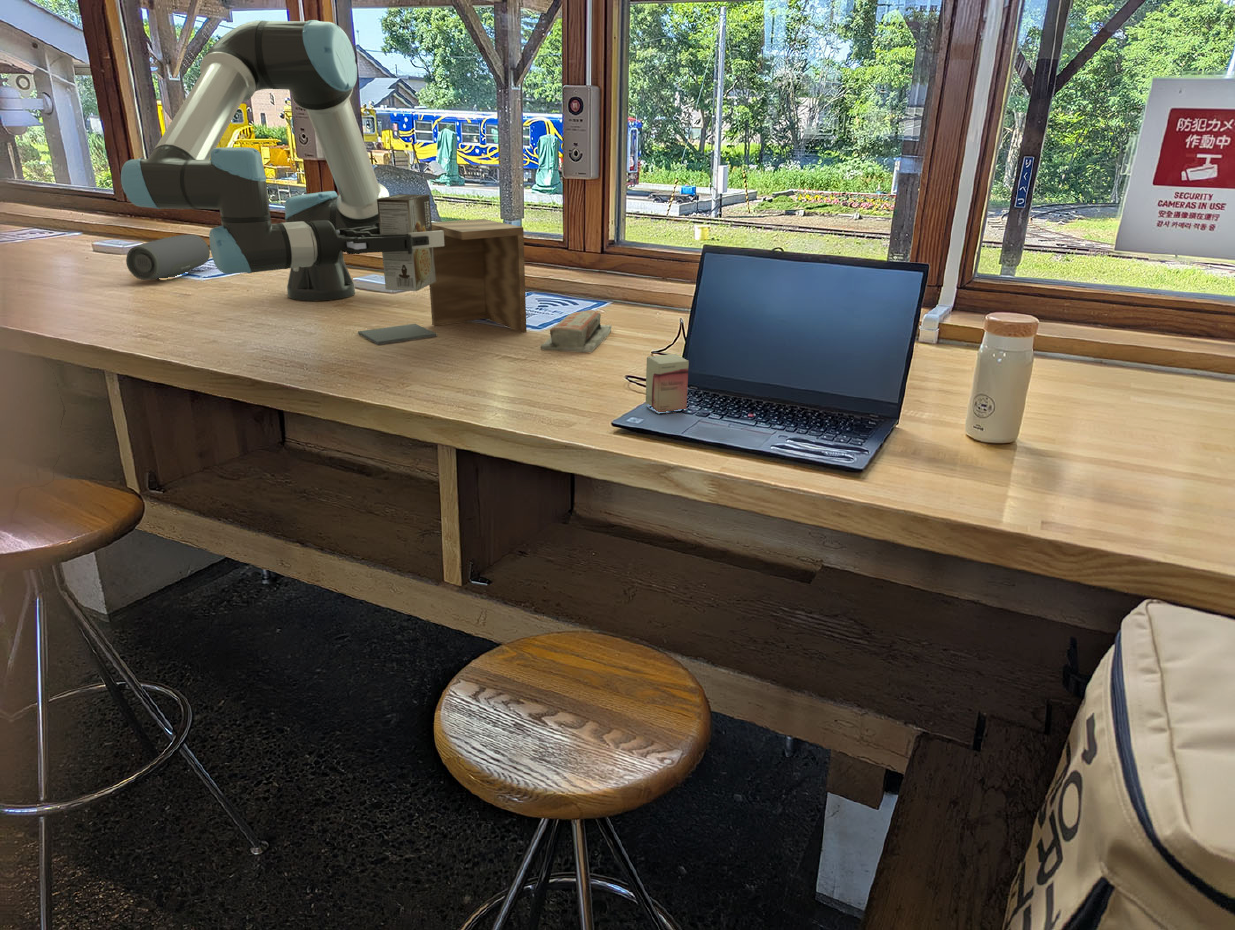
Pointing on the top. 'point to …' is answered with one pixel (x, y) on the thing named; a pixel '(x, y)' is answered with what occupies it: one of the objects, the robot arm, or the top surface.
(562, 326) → the packaged product
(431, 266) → the coffee box
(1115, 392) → the top surface
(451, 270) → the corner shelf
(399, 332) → the mat
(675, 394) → the small box
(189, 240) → the bluetooth speaker
